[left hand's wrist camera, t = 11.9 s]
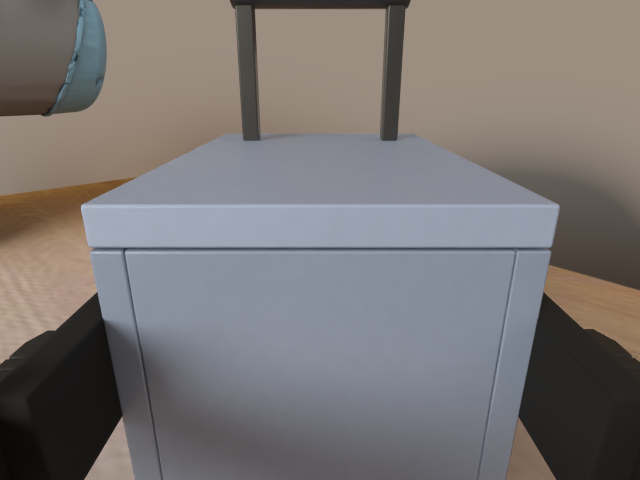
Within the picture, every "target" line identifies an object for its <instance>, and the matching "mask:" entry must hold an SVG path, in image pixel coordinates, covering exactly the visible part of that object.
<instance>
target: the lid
mask: <svg viewBox="0 0 640 480" xmlns="http://www.w3.org/2000/svg"><path fill="white" fill-rule="evenodd" d="M410 1H411V0H230V2H231V5H232V7H233V8H234V9H235V15H236V31H237V47H238V64H239V80H240V96H241V113H242V130H243V134H225V135H223V136H221V137H219V138H217V139H215V140H213V141H211V142H209V143H207V144H205V145H203V146H201V147H199V148H197V149H194V150H192V151H190V152H188V153H186V154H184V155H182V156H180V157H178V158H176V159H174V160H172V161H170V162H168V163H166V164H164V165H162V166H160V167H158V168H156V169H154V170H152V171H150V172H148V173H146V174H143V175H142V176H139V177H137V178H135V179H133V180H131V181H129V182H127V183H125V184H123V185H121V186H119V187H117V188H115V189H113V190H111V191H109V192H107V193H105V194H103V195H101V196H99V197H97V198H95V199H93V200H90V201H88V202H86V203H84V204H82V205H81V211H82V216H83V221H84V226H85V231H86V236H87V241H88V246H89V247H91V248H550V247H552V244H553V239H554V234H555V229H556V224H557V219H558V214H559V209H560V206H559V205H558V204H556V203H554V202H552V201H550V200H548V199H546V198H544V197H542V196H540V195H538V194H536V193H534V192H532V191H530V190H528V189H526V188H523V187H521V186H519V185H517V184H515V183H513V182H511V181H509V180H507V179H505V178H503V177H501V176H499V175H497V174H495V173H493V172H491V171H489V170H487V169H485V168H483V167H481V166H478V165H477V164H475V163H472V162H470V161H468V160H466V159H464V158H462V157H460V156H458V155H456V154H454V153H452V152H450V151H448V150H446V149H444V148H442V147H440V146H438V145H436V144H434V143H432V142H430V141H428V140H426V139H424V138H422V137H419V136H417V135H415V134H398V120H399V103H400V87H401V71H402V54H403V38H404V22H405V9H406V8H408V6H409V4H410ZM255 9H386V17H385V39H384V60H383V81H382V102H381V124H380V134H260V113H259V92H258V70H257V49H256V28H255Z"/></svg>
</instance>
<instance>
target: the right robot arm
mask: <svg viewBox="0 0 640 480" xmlns="http://www.w3.org/2000/svg"><path fill="white" fill-rule="evenodd" d="M106 57H107V51H106V37H105V31H104V26H103V21H102V18H101V15H100V12H99V10H98V8H97V6H96V5H95V4H94V3H93V1H92V0H0V116H20V115H42V116H50V115H52V114H58V113H69V112H78V111H82V110H85V109H87V108H88V107H90V106H91V105H92V104H93V103H94V102H95V100H96V99H97V97H98V95H99V93H100V91H101V88H102V85H103V81H104V76H105V71H106Z"/></svg>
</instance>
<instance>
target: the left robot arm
mask: <svg viewBox="0 0 640 480" xmlns="http://www.w3.org/2000/svg"><path fill="white" fill-rule="evenodd" d="M518 416H519V418H520V420H521V421H522V423H523V425H524V426H525V428H526V430H527V431H528V433H529V435H530V436H531V438H532V440H533V441H534V443H535V445H536V446H537V448H538V450H539V451H540V453H541V455H542V456H543V458H544V460H545V461H546V463H547V465H548V466H549V468H550V470H551V471H552V473H553V475H554V476H555V478H556V480H640V362H639V361H638V360H637V359H635V358H632V355H631V354H630V353H628V352H627V351H626V350H625V349H624V348H623V347H621V346H620V345H619V344H618V343H617V342H616V341H614V340H612V339H610V338H608V337H607V336H605V335H603V334H601V333H599V332H597V331H595V330H594V329H583V328H582V327H580V326H579V325H578V324H577V323H576V322H575V321H574V320H573V319H572V318H571V317H570V316H569V315H567V314H566V313H565V312H564V311H563V310H562V309H561V308H560V307H559V306H558V305H557V304H556V303H554V302H553V301H552V300H551V299H550V298H549V297H548V296H547V295H546V294H545V293H544V292H543V297H542V302H541V307H540V312H539V317H538V320H537V325H536V330H535V335H534V340H533V345H532V350H531V355H530V360H529V365H528V370H527V375H526V380H525V385H524V390H523V395H522V400H521V405H520V410H519V415H518ZM121 417H122V411H121V406H120V401H119V396H118V391H117V386H116V381H115V376H114V371H113V366H112V361H111V356H110V351H109V346H108V341H107V336H106V331H105V326H104V321H103V317H102V312H101V307H100V302H99V297H98V292H97V293H96V294H95V295H94V296H93V297H91V298H90V299H89V300H88V301H87V302H86V303H85V304H84V305H83V306H82V307H81V308H80V309H78V310H77V311H76V312H75V313H74V314H73V315H72V316H71V317H70V318H69V319H68V320H67V321H65V322H64V323H63V324H62V325H61V326H60V327H59V328H58V329H57V330H56V331H46V332H44V333H43V334H41V335H39V336H37V337H35V338H33V339H31V340H30V341H28V342H26V343H25V344H24V345H22V346H21V347H20V348H19V349H18V350H17V351H15V352H14V353H13V354H12V355H11V356H10V358H9V360H5V361H4V362H3V363H2V364H1V365H0V480H84V479H85V477H86V476H87V474H88V472H89V471H90V469H91V467H92V466H93V464H94V462H95V461H96V459H97V457H98V456H99V454H100V452H101V451H102V449H103V447H104V446H105V444H106V442H107V441H108V439H109V437H110V436H111V434H112V432H113V431H114V429H115V427H116V426H117V424H118V422H119V421H120V419H121Z"/></svg>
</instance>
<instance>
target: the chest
mask: <svg viewBox="0 0 640 480" xmlns="http://www.w3.org/2000/svg"><path fill="white" fill-rule="evenodd" d="M90 257H91V262H92V267H93V272H94V277H95V282H96V287H97V292H98V297H99V302H100V307H101V312H102V317H103V321H104V326H105V331H106V336H107V341H108V346H109V351H110V356H111V361H112V366H113V371H114V376H115V381H116V386H117V391H118V396H119V401H120V406H121V411H122V417H123V422H124V427H125V432H126V437H127V442H128V447H129V452H130V457H131V462H132V467H133V472H134V477H135V480H506V476H507V471H508V466H509V461H510V456H511V451H512V446H513V441H514V436H515V431H516V426H517V421H518V415H519V410H520V405H521V400H522V395H523V390H524V385H525V380H526V375H527V370H528V365H529V360H530V355H531V350H532V345H533V340H534V335H535V330H536V325H537V320H538V317H539V312H540V307H541V302H542V297H543V292H544V287H545V282H546V277H547V272H548V267H549V262H550V257H551V251H550V250H548V249H547V248H94V249H93V250H91V251H90Z"/></svg>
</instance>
